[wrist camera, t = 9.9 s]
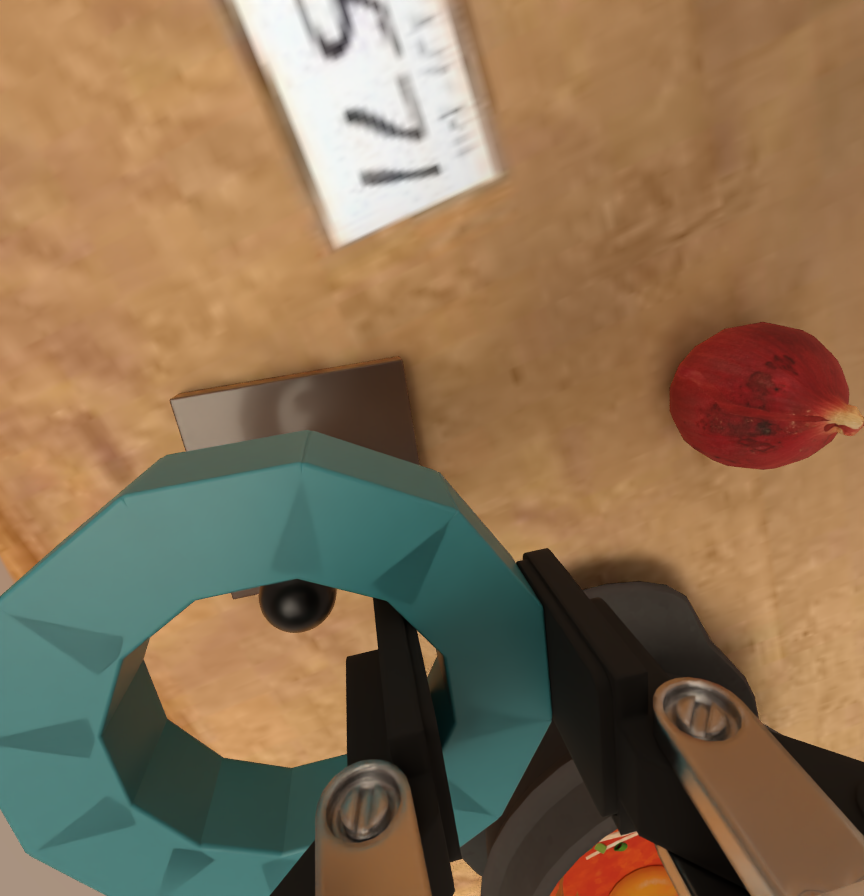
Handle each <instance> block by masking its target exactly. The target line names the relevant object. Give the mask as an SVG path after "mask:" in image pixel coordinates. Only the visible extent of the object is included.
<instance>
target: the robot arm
mask: <svg viewBox="0 0 864 896" xmlns="http://www.w3.org/2000/svg"><path fill="white" fill-rule="evenodd" d="M516 564H517V566H518V567H519V569H520V571H521V572H522V574H523V575H524V577H525V579H526V580H527V582H528V583H529V585H530V587H531V588H532V590H533V591H534V593H535V595H536V596H537V598H538V599H539V601H540V602H541V604H542V606H543V609H544V620H545V632H546V644H547V656H548V668H549V680H550V692H551V703H552V719H553V721H554V723H555V725H556V727H557V729H558V731H559V733H560V735H561V737H562V739H563V741H564V743H565V745H566V747H567V749H568V751H569V753H570V755H571V757H572V759H573V761H574V763H575V765H576V767H577V769H578V771H579V773H580V775H581V777H582V779H583V781H584V783H585V785H586V788H587V790H588V792H589V794H590V796H591V798H592V800H593V802H594V804H595V806H596V808H597V810H598V811H599V813H600V815H601V816H602V817H607V816H610V815H611V817H612V819H613V821H614V823H615V825H616V827H617V829H618V831H619V833H620V835H621V836H622V835H626V834H629V833H632V832H636V831H637V833H638V835H639V836H640V837H642V838H644V839H646V840H648V841H650V842H652V843H654V845H655V848H656V850H657V853H658V856H659V858H660V860H661V862H662V864H663V866H664V868H665V870H666V872H667V874H668V876H669V878H670V880H671V882H672V884H673V886H674V888H675V890H676V892H677V894H678V896H864V762H862V761H859V760H856V759H853V758H850V757H847V756H844V755H841V754H838V753H835V752H832V751H829V750H826V749H823V748H820V747H817V746H814V745H811V744H808V743H805V742H802V741H799V740H796V739H793V738H790V737H787V736H784V735H781V734H778V733H775V732H772V731H769V730H768V729H767V728H766V727H765V726H764V725H763V723H762V722H761V721H760V720H759V719H758V718H757V717H756V716H755V715H754V713H753V712H752V711H751V710H750V709H749V708H748V707H747V706H746V705H745V703H744V702H743V701H742V700H740V699H739V698H738V697H737V696H736V695H735V694H734V693H733V692H731V691H729V690H728V689H726V688H724V687H722V686H721V685H719V684H717V683H714V682H711V681H708V680H705V679H700V678H692V677H683V678H674V679H671V678H670V677H669V676H668V675H667V673H666V672H665V671H664V670H663V669H662V668H661V666H660V665H659V664H658V663H657V662H656V660H655V659H654V658H653V657H652V656H651V655H650V653H649V652H648V651H647V650H646V649H645V648H644V646H643V645H642V644H641V643H640V642H639V640H638V639H637V638H636V637H635V636H634V635H633V633H632V632H631V631H630V630H629V629H628V628H627V626H626V625H625V624H624V623H623V622H622V620H621V619H620V618H619V617H618V616H617V615H616V613H615V612H614V611H613V610H612V609H611V608H610V606H609V605H608V604H607V603H606V602H605V601H604V600H603V599H602V598H599V597H596V598H592V599H589V598H588V596H587V595H586V594H585V593H584V592H583V590H582V589H581V588H580V587H579V585H578V584H577V583H576V582H575V580H574V579H573V578H572V577H571V575H570V574H569V573H568V572H567V570H566V569H565V568H564V567H563V565H562V564H561V563H560V562H559V560H558V559H557V558H556V557H555V556H554V554H553V553H552V552H551V551H550V550H549V549H548V548H545V549H541V550H536V551H532V552H527V553H524V554H523V560H521V561H517V562H516ZM373 602H374V612H375V622H376V632H377V641H378V650H374V651H369V652H365V653H361V654H357V655H353V656H348V657H347V659H346V703H347V767H346V768H344V769H343V770H342V771H340V772H339V773H338V774H337V775H335V776H334V777H333V778H332V779H331V781H330V782H329V783H328V785H327V786H326V787H325V788H324V790H323V792H322V794H321V796H320V799H319V801H318V803H317V808H316V815H315V840H314V841H313V843H312V844H311V845H310V846H309V848H308V849H307V850H306V851H305V852H304V854H303V855H302V856H301V857H300V859H299V860H298V861H297V862H296V864H295V865H294V866H293V867H292V869H291V870H290V871H289V872H288V873H287V875H286V876H285V877H284V878H283V880H282V881H281V882H280V883H279V885H278V886H277V887H276V888H275V890H274V891H273V892H272V893H271V895H270V896H453V894H454V892H455V888H454V882H453V877H452V871H451V866H450V862H453V861H456V860H459V859H462V855H461V850H460V845H459V839H458V834H457V828H456V823H455V817H454V812H453V806H452V801H451V796H450V790H449V785H448V779H447V774H446V768H445V763H444V757H443V752H442V747H441V741H440V736H439V731H438V726H437V721H436V716H435V711H434V707H433V702H432V698H431V693H430V689H429V684H428V680H427V675H426V671H425V666H424V662H423V657H422V652H421V648H420V643H419V639H418V634H417V630H416V629H415V628H414V627H413V626H412V625H411V624H410V623H409V622H408V621H407V620H406V619H405V618H404V617H403V616H402V615H401V614H400V613H399V612H398V611H397V610H396V609H395V608H394V607H393V606H392V605H391V604H390V603H389V602H387V601H385V600H381V599H377V598H373Z"/></svg>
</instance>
